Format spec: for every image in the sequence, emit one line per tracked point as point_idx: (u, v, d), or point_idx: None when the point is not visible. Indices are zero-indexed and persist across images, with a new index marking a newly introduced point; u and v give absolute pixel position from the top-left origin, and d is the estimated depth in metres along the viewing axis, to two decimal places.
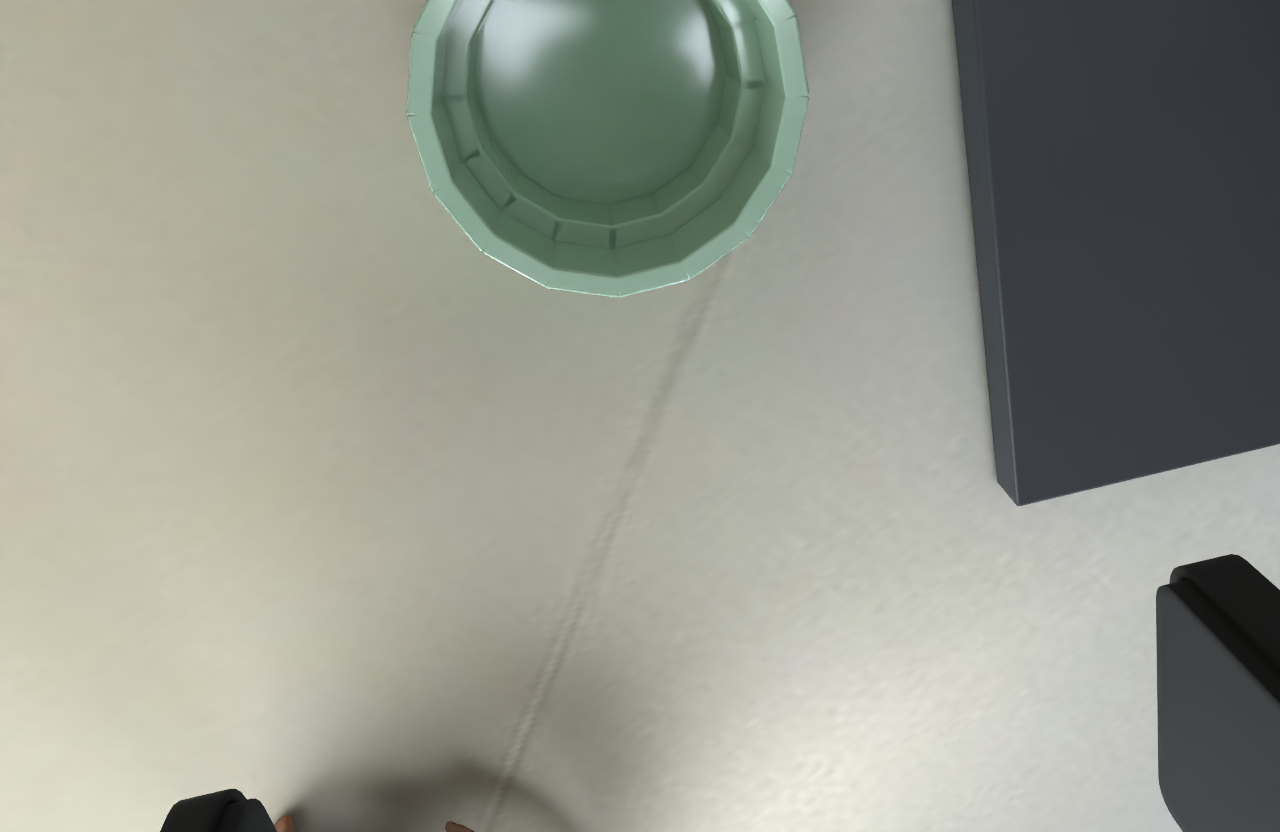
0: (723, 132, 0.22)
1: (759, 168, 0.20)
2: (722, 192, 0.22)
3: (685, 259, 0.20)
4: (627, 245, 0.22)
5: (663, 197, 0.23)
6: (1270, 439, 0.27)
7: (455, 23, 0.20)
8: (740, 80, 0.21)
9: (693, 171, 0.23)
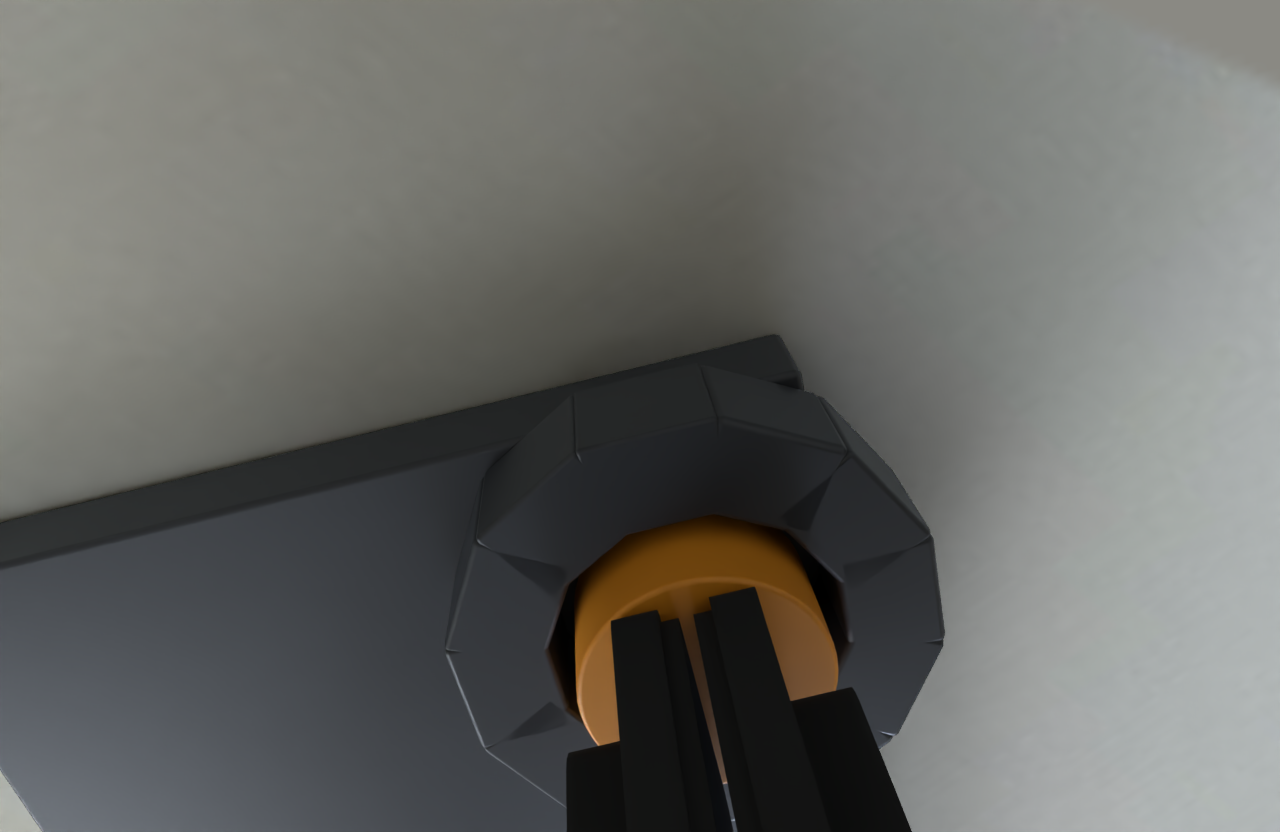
0: None
1: None
2: None
3: None
4: None
5: None
6: None
7: None
8: None
9: None
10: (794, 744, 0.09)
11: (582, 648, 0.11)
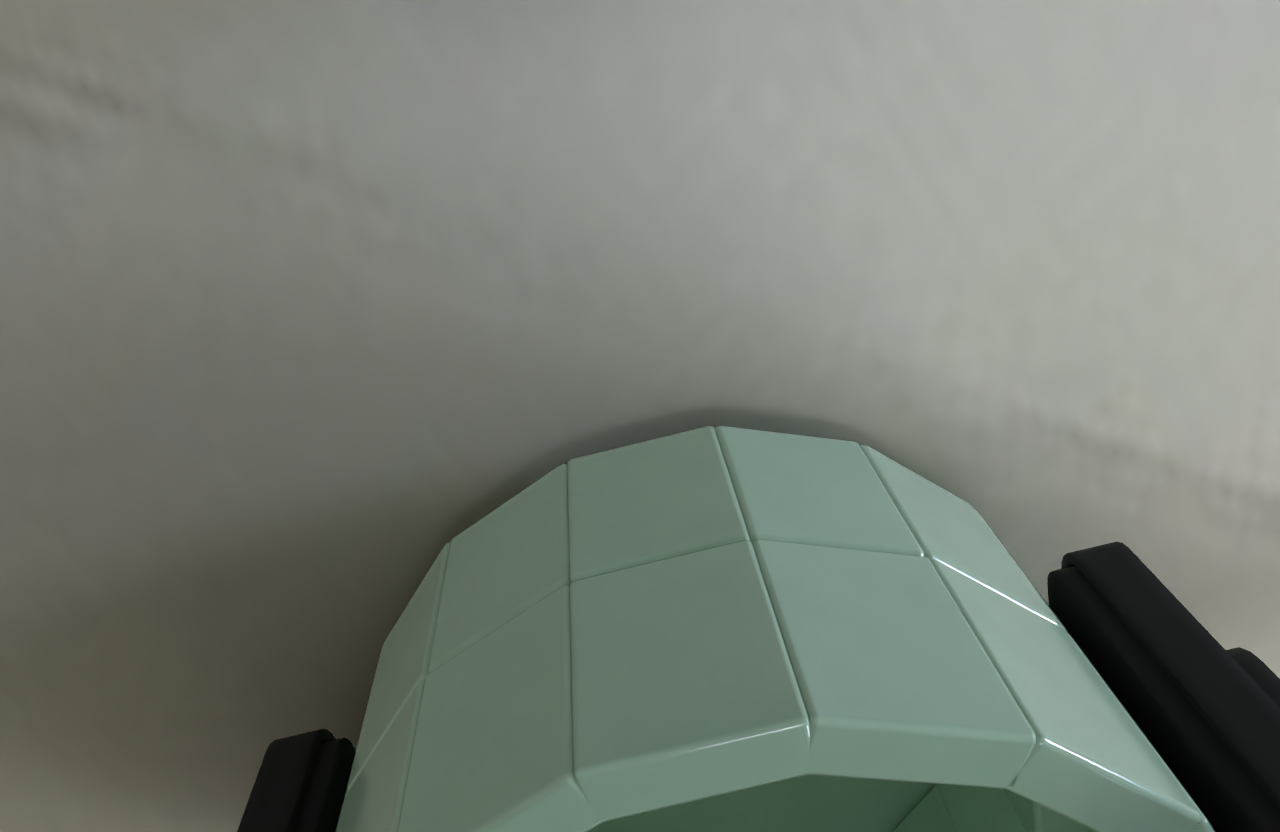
0: None
1: None
2: None
3: None
4: (1091, 831, 0.09)
5: None
6: None
7: None
8: None
9: None
10: (1260, 701, 0.08)
11: None
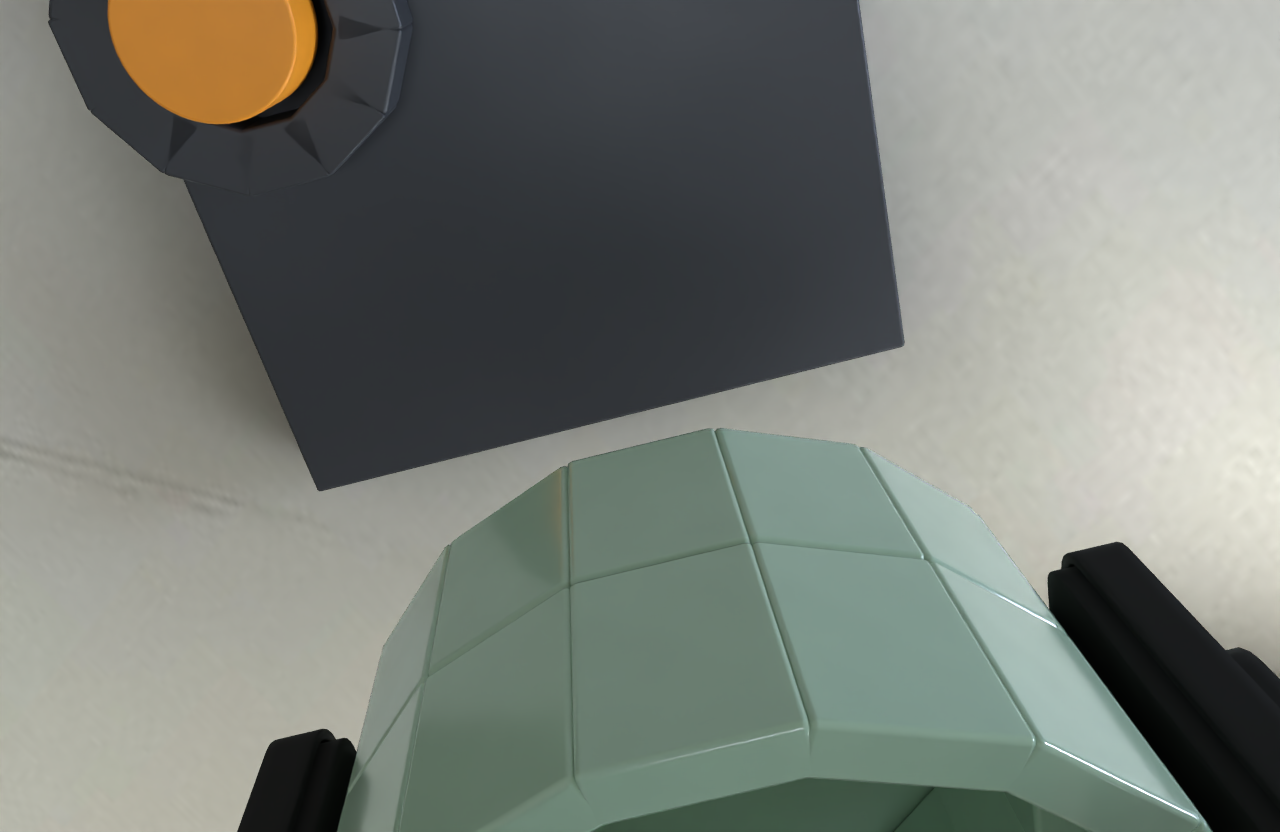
0: None
1: None
2: None
3: None
4: None
5: None
6: (854, 46, 0.20)
7: None
8: None
9: None
10: (1261, 701, 0.08)
11: None
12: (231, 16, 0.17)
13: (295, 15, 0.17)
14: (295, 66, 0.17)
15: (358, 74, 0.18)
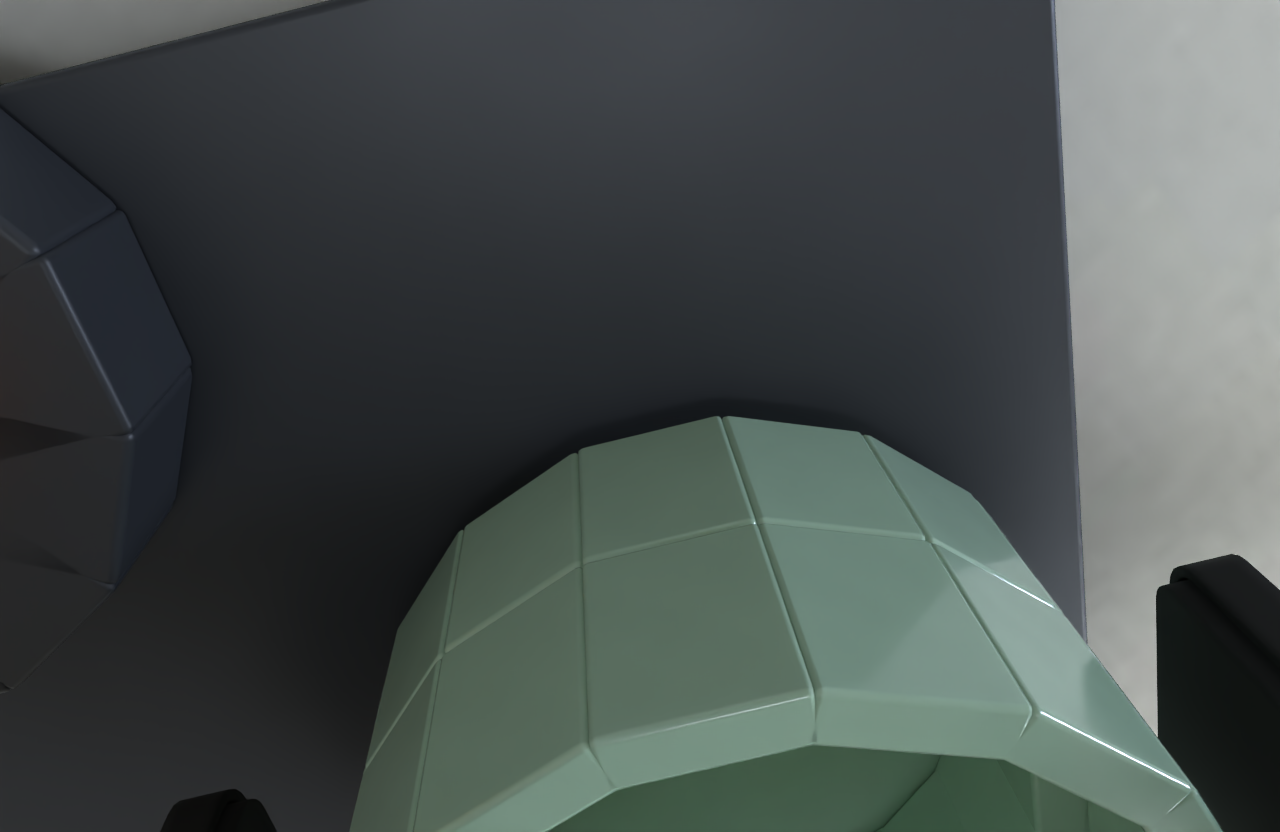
0: None
1: None
2: None
3: None
4: (1088, 810, 0.10)
5: None
6: (1055, 387, 0.11)
7: None
8: None
9: None
10: None
11: None
12: None
13: None
14: None
15: (46, 519, 0.09)
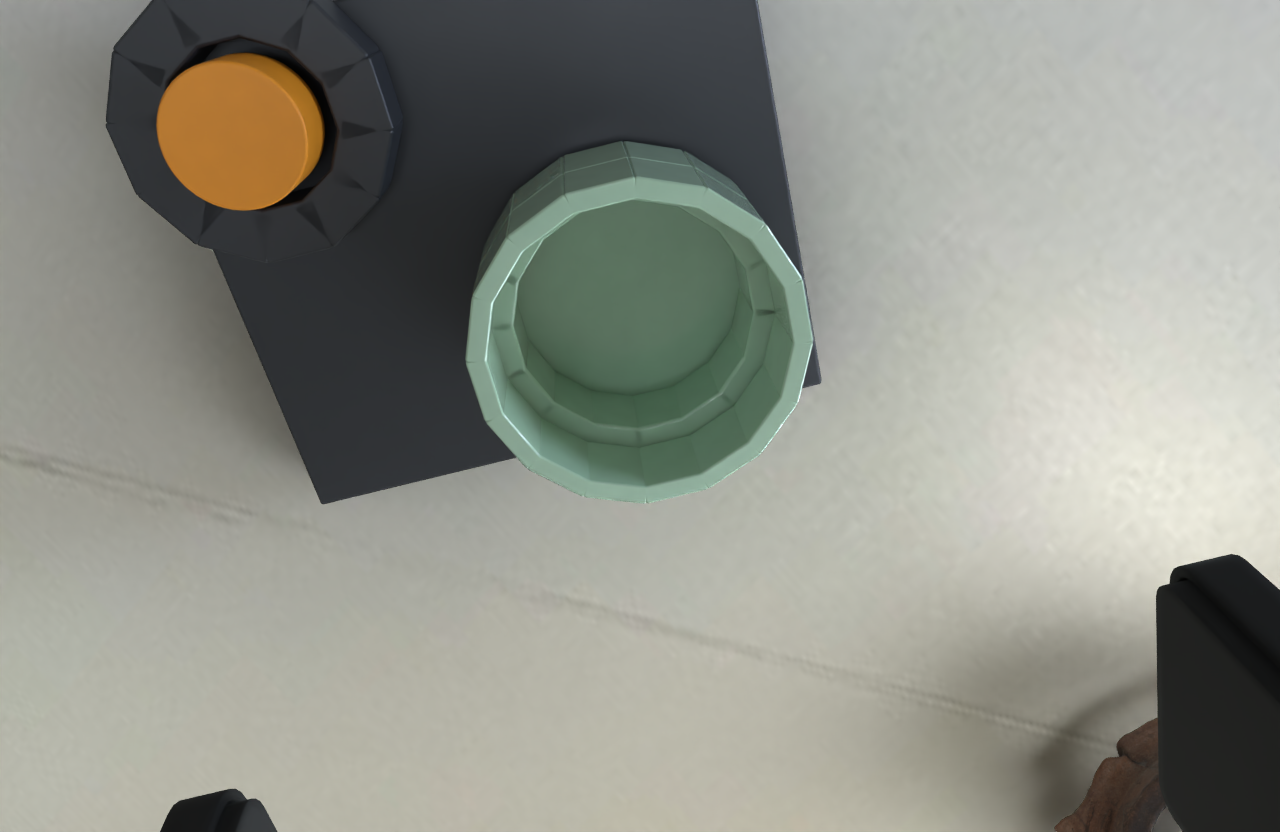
0: None
1: None
2: None
3: (782, 283, 0.21)
4: (772, 300, 0.23)
5: None
6: (771, 137, 0.24)
7: (581, 435, 0.25)
8: None
9: None
10: None
11: None
12: (255, 127, 0.21)
13: (307, 125, 0.21)
14: (306, 165, 0.21)
15: (357, 166, 0.22)
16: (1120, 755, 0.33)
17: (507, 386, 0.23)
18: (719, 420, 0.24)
